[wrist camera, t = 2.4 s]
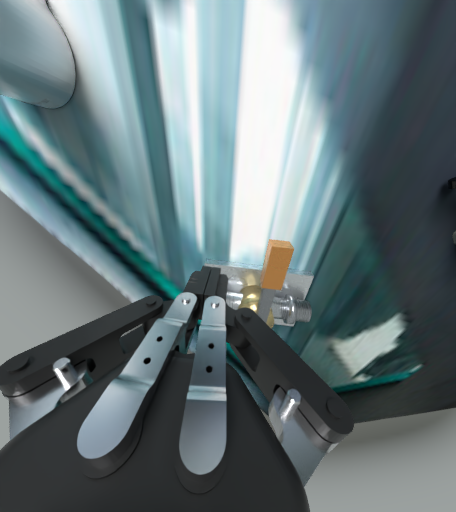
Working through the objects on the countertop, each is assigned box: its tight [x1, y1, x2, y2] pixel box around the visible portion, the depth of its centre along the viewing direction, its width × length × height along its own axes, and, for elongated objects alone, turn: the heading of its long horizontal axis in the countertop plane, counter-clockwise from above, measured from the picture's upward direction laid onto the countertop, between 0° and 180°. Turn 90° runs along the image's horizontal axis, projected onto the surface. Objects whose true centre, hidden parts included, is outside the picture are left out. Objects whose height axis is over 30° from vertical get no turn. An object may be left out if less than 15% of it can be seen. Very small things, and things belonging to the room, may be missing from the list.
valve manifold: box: [205, 259, 314, 328], centre depth 29 cm, size 12×18×8 cm, turn 84°
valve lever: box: [256, 239, 294, 323], centre depth 21 cm, size 15×2×2 cm, turn 174°
